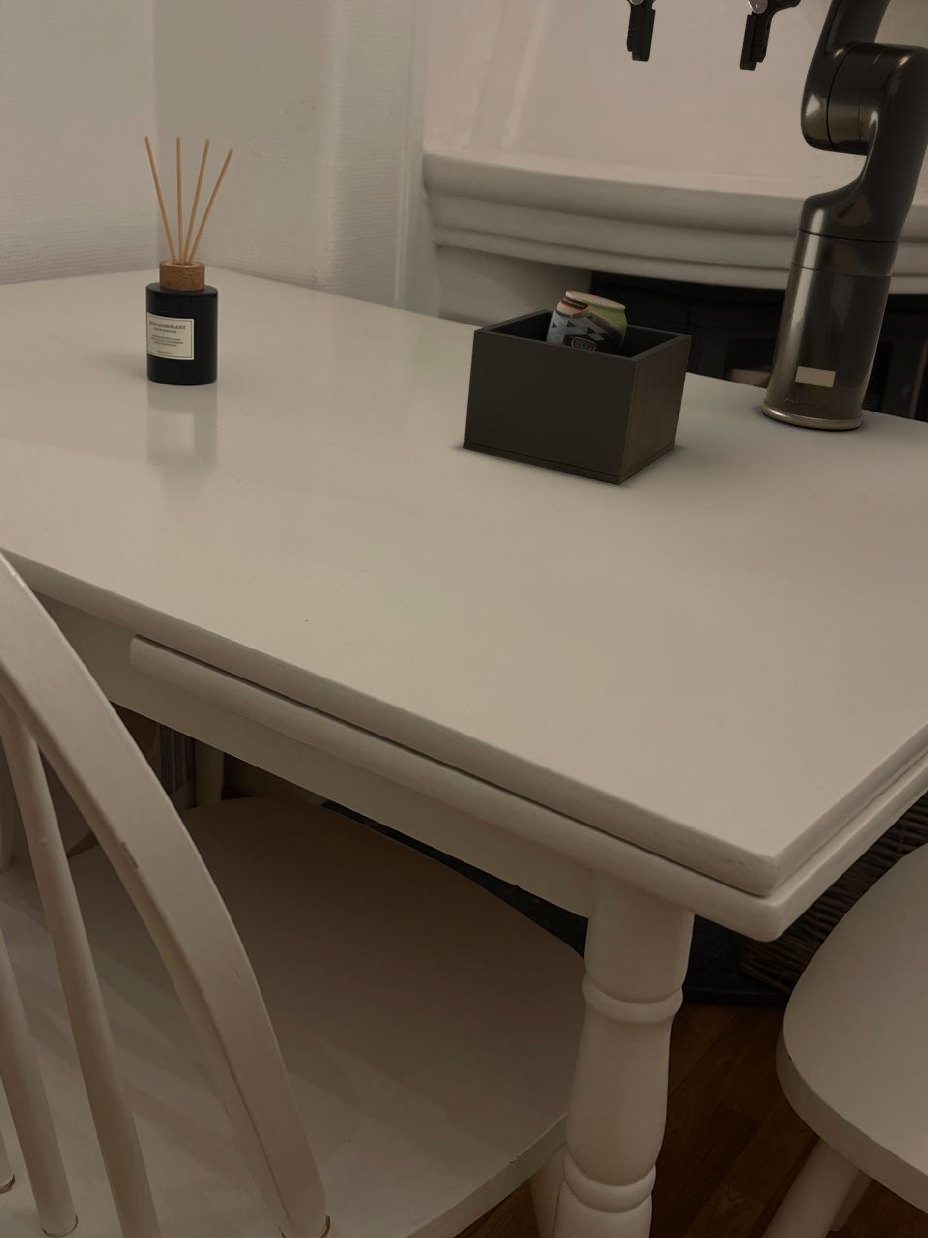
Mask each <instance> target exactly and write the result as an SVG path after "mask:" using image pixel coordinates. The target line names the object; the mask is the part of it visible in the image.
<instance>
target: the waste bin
mask: <svg viewBox="0 0 928 1238" xmlns="http://www.w3.org/2000/svg"><path fill="white" fill-rule="evenodd" d="M553 313H554V310H550V309H545V308H543V309H541V310H540V309H539V310H536V311H534V312H530V313H527V314H524V315H520V316H517V317H513V318H510V319H507V320H506V319H505V320H503V321H499V322H497V323H493V324H489V325H486V326H483V327H480V328H478V329H474V330H473V336H472V346H471V356H470V357H471V358H470V369H469V379H468V392H467V403H466V411H465V412H466V413H465V423H464V424H465V425H464V433H463V434H464V435H463V446H462V449H465V450H468V451H472V452H476V453H477V452H478V453H482V454H486V455H489V456H494V457H499V458H503V459H506V460H507V459H508V460H511V461H515V462H520V463H525V464H529V465H533V466H537V467H542V468H547V469H552V470H556V471H560V472H564V473H569V474H573V475H576V476H581V477H585V478H590V479H594V480H599V481H602V482H607V483H611V484H616V485H620V484H621V483H623V482H625V481H626V480H627V479H629V478H630V477H632V476H633V475H634V474H636V473H637V472H639V471H641V470H642V469H644V468H645V467H646V466H648V465H650V464H651V463H652V462H654V461H656V460H658V458H660V457H662V456H663V455H664V454H666V453H668V452H669V451H671V450H672V449H674V448H675V446H676V445H675V444H676V438H677V431H678V425H679V419H680V415H681V407H682V402H683V401H682V400H683V395H684V389H685V382H686V376H687V369H688V363H689V357H690V351H691V346H692V345H691V344H692V339H693V336H692V334H691V335H690V334H686V333H685V334H684V333H679V332H675V331H667V330H663V329H657V328H651V327H646V326H640V325H635V324H634V325H633V324H628V323H627V329H626V332H625V336H624V339H623V343H622V346H621V350H620V353H619V356H618V355H613V354H608V353H602V352H597V351H592V350H587V349H581V348H576V347H571V346H565V345H560V344H555V343H549V342H546V339H547V335H548V331H549V328H550V324H551V320H552V316H553Z"/></svg>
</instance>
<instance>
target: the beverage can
mask: <svg viewBox="0 0 928 1238" xmlns="http://www.w3.org/2000/svg"><path fill="white" fill-rule="evenodd" d="M625 310H626V306H625V305H624V304H621V303H619V302H617V301H615V300H611V299H608V298H605V297H601V296H599V295H593V294H590V293H585V292H581V291H575V290H567V291H566V292H565V296H564V297H563V298H561V300H559V302H557V304H555V306H554V310H553V311H554V313H553V316H552V320H551V324H550V328H549V331H548V335H547V339H546V342H549V343H555V344H560V345H565V346H571V347H576V348H581V349H587V350H592V351H597V352H602V353H608V354H613V355H618V356H619V353H620V350H621V346H622V343H623V339H624V336H625V332H626V329H627V324H628V321H627V317H626V314H625Z"/></svg>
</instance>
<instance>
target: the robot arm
mask: <svg viewBox="0 0 928 1238" xmlns="http://www.w3.org/2000/svg"><path fill="white" fill-rule="evenodd" d="M656 1H657V0H626V2H627V3H628V5H629V7H630V9H629V10H630V12H629V18H628V19H629V20H628V28H627V34H626V35H627V36H626V41H625V42H626V50H627V52H629V53H631V60H632V61H635V62H644V63H647V62H649V60H650V57H651V49H652V42H653V34H654V28H655V27H654V26H655V19H656V11H657V10H656V9H655V8H653V5H654V3H655V2H656ZM801 1H802V0H747V2H748V4H749V6H750V9H751V13H750V14H748V13H747V15H746V21H745V27H744V34H743V40H742V46H741V52H740V60H739V70H740V71H749V72H755V71H756V68H757V65H758V64H762V63H763V61H764V60H765V58H766V56H767V51H768V45H769V41H770V40H769V39H770V33H771V27H772V23H773V18H774V17H775V15H776V14H777V13H779V12H781V11H784V10H787V9H791V8H793V9H794V8H796V7H798V6H799V5H800V3H801ZM891 1H892V0H831V2H830V4H829V7H828V11H827V13H826V16H825V19H824V22H823V25H822V28H821V30H820V34H819V37H818V39H817V42H816V45H815V49H814V51H813V55H812V58H811V61H810V64H809V67H808V70H807V73H806V78H805V80H804V85H803V88H802V89H803V90H802V95H801V101H800V110H799V112H800V114H799V115H800V116H799V117H800V118H799V121H800V123H799V124H800V130H801V134H802V137H803V139H804V141H805V143H806V144H807V145H808V146H809V147H811V148H813V149H816V150H819V151H823V152H830V153H839V154H847V155H854V156H861V157H865V160H864V163H863V165H862V169H861V171H860V172H859V174H858V176H857V177H855V179H853V180H852V181H850V182H849V183H847V184H845V185H843V186H841V187H839V188H836V189H833V190H828V191H825V192H821V193H820V192H819V193H815V194H812V195H810V196H808V197H806V199H804V201H803V202H802V204H801V207H800V212H799V216H798V222H797V228H796V232H795V239H794V243H793V248H792V252H791V253H792V254H791V259H790V265H789V270H788V275H787V281H786V286H785V292H784V296H783V302H782V306H781V313H780V318H779V324H778V328H777V335H776V340H775V345H774V350H773V355H772V361H771V367H770V371H769V377H768V382H767V387H766V393H765V397H764V399H763V402H762V408H761V409H762V412H763V413H764V414H765V415H767V416H769V417H770V418H773V419H775V420H778V421H781V422H784V423H788V424H792V425H796V426H800V427H806V428H813V429H821V430H850V429H855V428H857V427H860V426H861V424H862V420H863V415H864V414H863V411H864V406H865V401H866V397H867V391H868V387H869V382H870V379H871V374H872V370H873V365H874V360H875V357H876V356H875V355H876V352H877V347H878V342H879V337H880V334H881V330H882V325H883V320H884V314H885V310H886V306H887V303H888V297H889V293H890V288H891V283H892V278H893V273H894V268H895V264H896V260H897V256H898V252H899V251H898V250H899V246H900V242H901V241H900V240H901V237H902V233H903V229H904V225H905V222H906V220H907V218H908V215H909V213H910V210H911V207H912V205H913V201H914V199H915V195H916V191H917V186H918V184H919V183H918V182H919V178H920V175H921V171H922V167H923V163H924V159H925V156H926V152H927V148H928V47H925V46H921V45H913V44H901V43H887V42H876V39H877V35H878V33H879V30H880V27H881V24H882V21H883V19H884V16H885V14H886V12H887V10H888V7H889V4H890V3H891Z"/></svg>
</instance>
